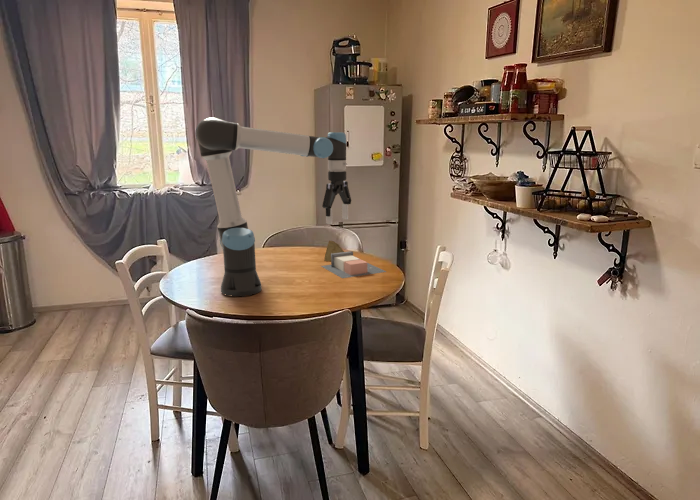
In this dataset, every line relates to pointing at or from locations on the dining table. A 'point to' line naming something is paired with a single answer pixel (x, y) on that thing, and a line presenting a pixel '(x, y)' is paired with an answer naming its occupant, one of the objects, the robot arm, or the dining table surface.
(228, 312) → the dining table surface
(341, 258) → the clamped cream block
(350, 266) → the stub
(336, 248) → the rock
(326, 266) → the mat
